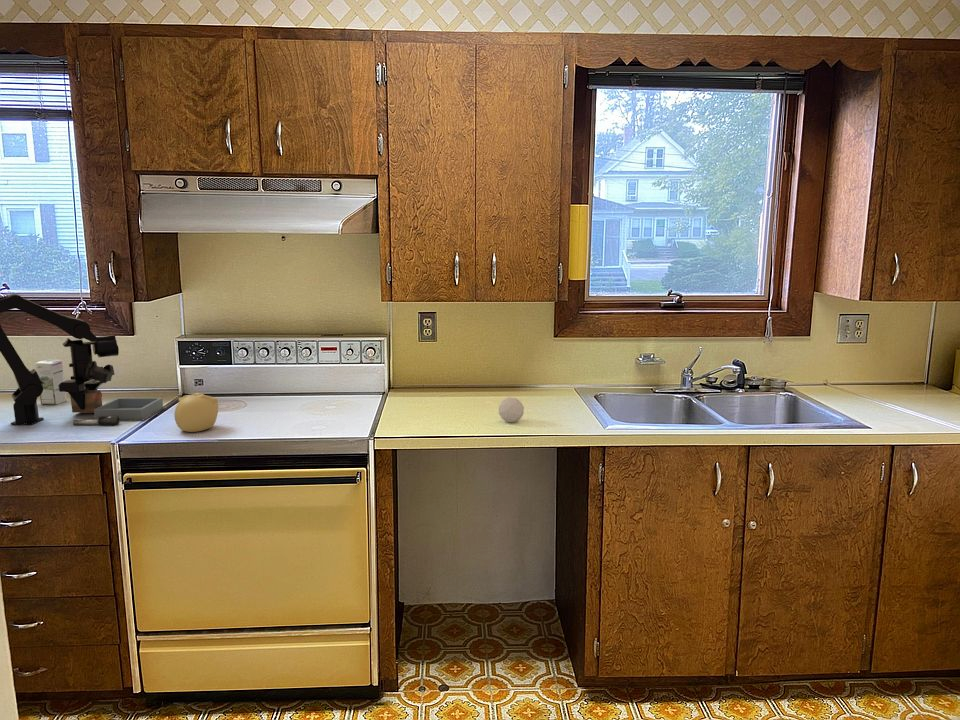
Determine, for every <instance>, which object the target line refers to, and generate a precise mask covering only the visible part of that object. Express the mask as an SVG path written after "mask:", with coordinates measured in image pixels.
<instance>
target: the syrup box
mask: <svg viewBox="0 0 960 720" xmlns="http://www.w3.org/2000/svg"><path fill="white" fill-rule="evenodd" d="M35 370H36V372H37V374H38V376H39V378H40V379H41V380H42V381H43V383H44V384H42V386H43V392H42V394H41V395H40V396H39V398H40V399H39V400H40V404H41V405H60V404H62V403H65V402H67V401H68V400H67V399H68V398H67V397H68V396H67V392H59V387H58V385H59V384H60V383H61V382H64V381H65V375H64V374H65V373H64V366H63V360H62V359H43V360H39V361H37V362H35Z"/></svg>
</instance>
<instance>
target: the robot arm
mask: <svg viewBox="0 0 960 720" xmlns="http://www.w3.org/2000/svg"><path fill="white" fill-rule="evenodd" d="M13 309H14V310H15V309H16V310H19V311H21V312H23V313H26V314H28V315H31V316H33V317H35V318H37V319H40V320H42V321H44V322H47V323H50V324H51V325H54V326H56V327H57V328H59V329H61V330H62V331H63V332H65V333H66V334H68V335H70V336H72V337H73V338H74V340H72V339H70V338H68V337H67V339H66V340H65V341H64V342H63V343H62V346H63V347H64V348H67V347H68V348H69V349H70V358H71V362H70V363H68V365H69V366H68V367H69V368H72V376H70V379H67V380H64V382H61V383H60V384H59V385H58V387H59V392H66V393H67V394H69V395H70V396H71V397H72V398H73V399H74V401H75V402H76V403H77V405H78V406H79V408H80V409H81V410H83V409H85V393H86V392H87V390H99V387H101V386H102V385H103V384H106V383H108V382H111V381H112V378H113V376H114V375H115V374H116V373H115V370H114V366H113V365H112V364H110V363H109V364H107V365H104V366H98V363H97V361H96V360H93V355H94V356H95V355H96V356H97V357H98V358H106V357H108V358H109V357H116V356H119V352H120V351H119V345H118V342H117V341H118V340H117V337H116V335H115V334H109V335H103V336H97V335H96V334H95V333H93V332H92V331H91V326H90V324H89V323H87V321H84V320H83V319H80V318H77V317H73V316H68V315H65V314H61V313H58V312H56V311H53V310H52V309H49V308H47V307H44V306H42V305H40V304H38V303H35V302H33V301H31V300H28V299H27V298H24V297H22V296H21V295H19V294H16V293H12V294H9V295H6V296H0V314H1V313H4V312H7V311H10V310H13ZM83 339H85V340H87V341H84V340H83ZM92 351H93V352H92ZM0 353H1V355H2V357H3V358H4V360H5V361H6V363H7V365H8V366H9V368H10V369H11V371H12V373H13V376H14V379H15V382H16V385H17V389H16V390H14V392H13V393H12V394H11V398H12V400H13V401H14V403H13V404H12V405H13V413H14V414H13V415H14V420H13V421H12V422H10V425H13V426H14V425H15V426H16V425H18V426H19V425H22V426H23V425H26V426H28V425H30V426H31V425H33V424H37V423H38V422H40V421H42V420H44V417H43V416H42V417H41V416H39V408H38V403H37V401H38V400H37V399H38V398H40V395H41V394H42V392H43V386H42V384H44V383H43V381H42V380H41V379H40V378H39V376H38V374H37V370H36V368H32V369H31V370H30V369H29V368H28V367H27V366H26V365H25V362H24V361H23V360H22V358H21V357H20V355H19V353H18V352H17V351H16V349H15V347H14V346H13V344H12V342H11V341H10V339H9V338H8V336H7V334H6V333H5V331H4V330H3V328H2V325H1V324H0ZM71 397H70V398H71Z"/></svg>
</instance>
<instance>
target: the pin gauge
mask: <svg viewBox="0 0 960 720" xmlns="http://www.w3.org/2000/svg"><path fill="white" fill-rule="evenodd" d="M119 424H120V420H119V417H118V416H100V417H99V419H98V420H95V419H73V420H72V425H73V426H118V425H119Z"/></svg>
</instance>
